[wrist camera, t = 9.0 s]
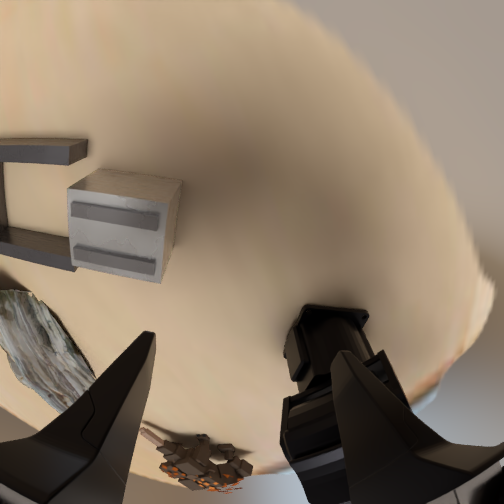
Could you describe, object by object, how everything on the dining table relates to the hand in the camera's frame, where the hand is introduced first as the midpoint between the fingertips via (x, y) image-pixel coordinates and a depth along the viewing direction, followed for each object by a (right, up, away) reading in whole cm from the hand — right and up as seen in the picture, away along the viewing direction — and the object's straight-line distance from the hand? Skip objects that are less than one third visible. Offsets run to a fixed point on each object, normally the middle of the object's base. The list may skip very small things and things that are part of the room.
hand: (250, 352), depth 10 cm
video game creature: (-9, -26, +27) cm, 39 cm away
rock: (-26, -8, +16) cm, 31 cm away
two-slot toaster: (-8, +7, +8) cm, 13 cm away
